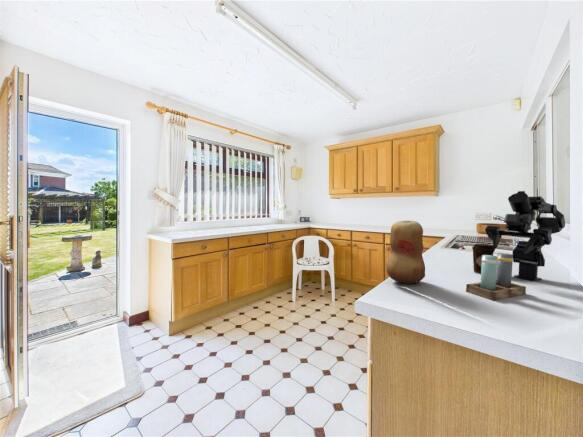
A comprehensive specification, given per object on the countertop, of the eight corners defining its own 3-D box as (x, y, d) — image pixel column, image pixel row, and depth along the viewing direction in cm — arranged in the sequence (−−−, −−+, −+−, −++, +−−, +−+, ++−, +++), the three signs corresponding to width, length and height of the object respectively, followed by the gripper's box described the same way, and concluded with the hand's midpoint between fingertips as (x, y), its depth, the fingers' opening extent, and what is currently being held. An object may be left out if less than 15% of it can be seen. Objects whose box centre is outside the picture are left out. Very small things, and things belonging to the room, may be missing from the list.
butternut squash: (383, 286, 94) (385, 221, 92) (387, 276, 106) (389, 218, 104) (425, 292, 87) (427, 222, 86) (424, 281, 99) (426, 220, 98)
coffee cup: (499, 275, 107) (501, 246, 106) (480, 275, 108) (481, 246, 107) (484, 270, 116) (485, 242, 115) (466, 270, 116) (467, 242, 115)
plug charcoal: (495, 288, 89) (497, 252, 88) (510, 290, 86) (513, 254, 85) (495, 291, 86) (497, 254, 85) (510, 294, 83) (513, 256, 82)
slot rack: (496, 288, 92) (497, 279, 91) (526, 297, 83) (527, 286, 83) (464, 294, 86) (465, 284, 86) (493, 304, 77) (493, 293, 77)
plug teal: (485, 291, 86) (487, 254, 85) (498, 295, 82) (500, 257, 81) (477, 292, 84) (478, 255, 84) (490, 297, 81) (492, 257, 80)
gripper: (488, 206, 103) (473, 234, 98) (551, 207, 87) (537, 240, 82) (495, 224, 107) (482, 251, 102) (557, 228, 91) (544, 261, 86)
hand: (508, 251), depth 93 cm, fingers open, 9 cm apart
